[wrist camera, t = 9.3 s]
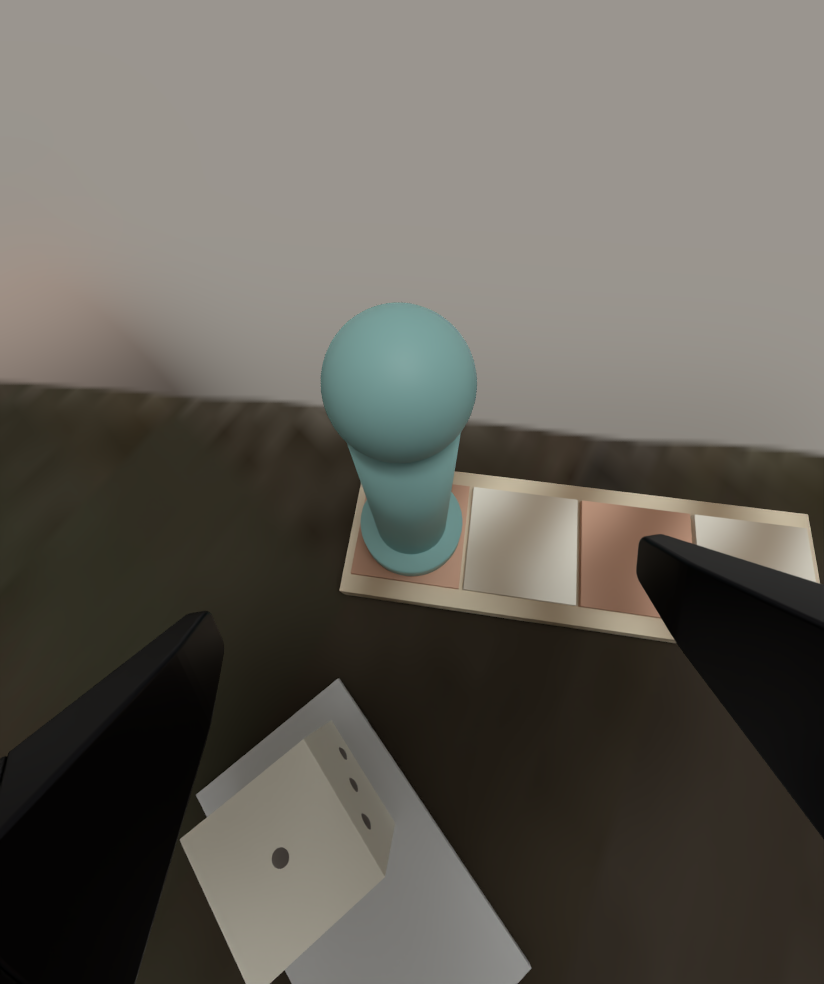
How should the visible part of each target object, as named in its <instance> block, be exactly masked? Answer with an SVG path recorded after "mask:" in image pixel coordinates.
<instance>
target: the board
mask: <svg viewBox="0 0 824 984" xmlns="http://www.w3.org/2000/svg"><path fill="white" fill-rule="evenodd" d="M451 492H452V493H453V494H454V496H455V497H456V499H457V501H458V503H459V505H460V509H461V512H462V532H461V535H460V539H459V542H458V545H457V548H456V550H455V552H454V553H453V555H452V556H451V558H450V559H449V560H448V561H447V562H446V563H445V564H444V565H443V566H441V567H440V568H439V569H437V570H435V571H433V572H431V573H428V574H425V575H421V576H403V575H399V574H395V573H393V572H391V571H388V570H387V569H385V568H384V567H382V566H381V565H380V564H379V563H378V562H377V561H376V560H375V559H374V558H373V556H372V555H371V553H370V552H369V550H368V548H367V546H366V544H365V542H364V539H363V536H362V532H361V513H362V509H363V506H364V504H365V502H366V500H367V498H366V495H365V492H364V490H363V487H362V484H361V486H360V491H359V496H358V501H357V506H356V511H355V516H354V520H353V525H352V530H351V535H350V540H349V545H348V550H347V555H346V560H345V565H344V570H343V575H342V580H341V585H340V590H339V591H340V592H342V593H343V594H345V595H352V596H358V597H365V598H372V599H379V600H386V601H392V602H399V603H406V604H413V605H419V606H426V607H433V608H440V609H447V610H453V611H460V612H467V613H474V614H480V615H487V616H494V617H501V618H508V619H514V620H521V621H528V622H535V623H542V624H548V625H555V626H562V627H569V628H575V629H582V630H589V631H596V632H603V633H609V634H616V635H623V636H630V637H636V638H643V639H650V640H657V641H664V642H670V643H676V641H675V640H674V638H673V637H672V635H671V634H670V632H669V630H668V629H667V627H666V625H665V624H664V622H663V620H662V619H661V617H660V615H659V614H658V612H657V610H656V609H655V607H654V605H653V604H652V602H651V600H650V599H649V597H648V595H647V594H646V592H645V590H644V589H643V587H642V585H641V584H640V582H639V580H638V578H637V574H636V564H637V554H638V544H639V541H640V539H641V538H642V537H644V536H650V535H656V534H664V535H667V536H670V537H673V538H676V539H680V540H683V541H686V542H689V543H692V544H695V545H699V546H702V547H705V548H708V549H711V550H715V551H718V552H721V553H724V554H727V555H730V556H734V557H737V558H740V559H743V560H746V561H750V562H753V563H756V564H759V565H762V566H765V567H769V568H772V569H775V570H778V571H781V572H785V573H788V574H791V575H794V576H797V577H800V578H804V579H807V580H810V581H813V582H816V583H820V581H819V575H818V569H817V564H816V558H815V552H814V546H813V541H812V535H811V529H810V524H809V518H808V515H807V514H799V513H791V512H783V511H774V510H766V509H758V508H750V507H742V506H734V505H725V504H717V503H709V502H701V501H693V500H684V499H676V498H668V497H660V496H652V495H644V494H635V493H627V492H619V491H611V490H603V489H594V488H586V487H578V486H570V485H562V484H554V483H545V482H537V481H529V480H521V479H513V478H504V477H496V476H488V475H480V474H472V473H464V472H455V471H454V478H453V484H452V490H451Z"/></svg>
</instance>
